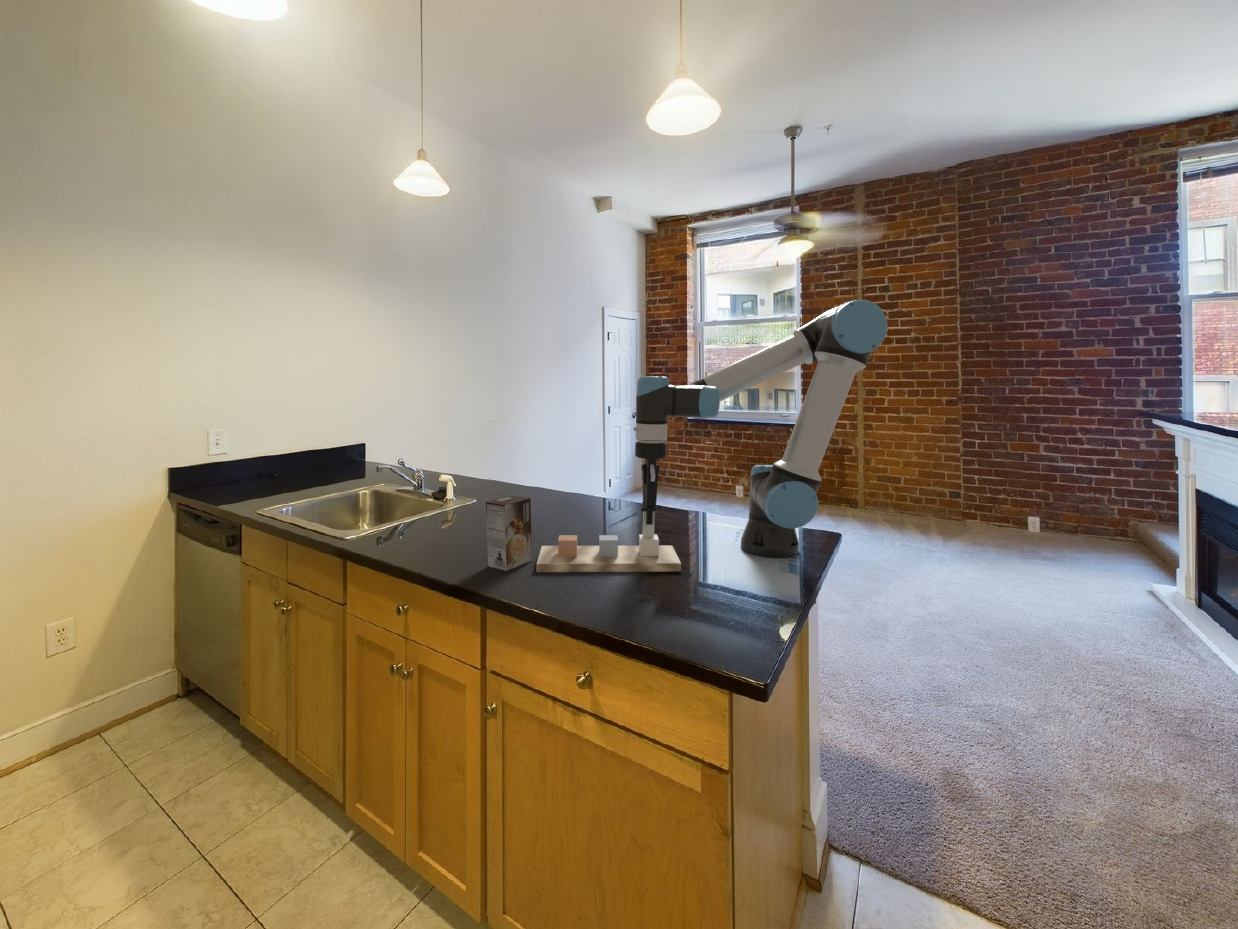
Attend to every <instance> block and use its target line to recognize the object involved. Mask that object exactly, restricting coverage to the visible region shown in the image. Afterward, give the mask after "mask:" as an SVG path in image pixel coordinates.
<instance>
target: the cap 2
mask: <svg viewBox="0 0 1238 929" xmlns="http://www.w3.org/2000/svg"><path fill="white" fill-rule="evenodd" d="M638 546H639V553H640V556H659V546H660V539H659V536H658V534H655V533H654V537H643V533H642V534H640V533H639V534H638Z"/></svg>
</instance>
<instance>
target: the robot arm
mask: <svg viewBox="0 0 1238 929" xmlns="http://www.w3.org/2000/svg"><path fill="white" fill-rule="evenodd" d="M884 312H885V311H883V309H882V308H881V306H879V305H878V304H876V303H875V302H872V301H871V300H867V299H855V300H848V301H845V302H843V303H841V304H840V305H839V306H836V307H832V308H830V309H828V310H826V311H825V312H823V313H821V314H820V315H819V316H817V317H816V318H813V320H811V321H809V322H807V323H806V324H804V325H802V326H801V327H798V328H796V329H794V331H793V332H792V335H791V336H789V337H786V338H784V339H783V340H780V341H778V342H776V343H774V344H771V345H770V346H768V347H765V348H763V349H760V350H759V351H757V352H755V353H752V354H751V355H749V356H746V357H744V358H742V359H740V360H738V361H736V362H734V363H731V364H729V365H727V366H725V367H723V368H721V369H719V370H716V371H715V372H713V373H710V374H708V375H706V376H704V377H702V378H700V379H698V380H696V381H694V382H691V383H689V384H685V385H673V384H670V381H669V380H670V379H669V377H667V376H653V375H651V376H645V375H644V376H641V377H639V379H638V380H637V384H636V386H637V387H636V399H635V403H636V405H635V406H636V408H635V410H636V411H635V425H636V426H634V427H633V430H632V431H634V432H635V439H636V440H637V441H636V442H635V443H634V444H635V446H634V447H635V449H634V456H635V457H636V458H638V459H643V460H644V463H641V471H642V479H641V480H642V502H641V504H642V508H641V509H640V511H641V512H642V534H643V537H654V534H655V522H656V521H655V518H656V511H657V508H658V507H657V499H658V498H657V497H658V484H659V483H658V482H659V476H660V475H659V473H660V466H659V465H658V464H657V463H658V462H657V460H658V459H661V460H662V459H665V458H666V457H667V445H668V444H667V443H666V442H665V441H666V440H667V439H668V417H669V418H675V417H676V418H698V419H699V418H701V419H707V418H708V419H709V418H716V417H717V416H718V414H719V410H720V403H721V402H722V401H725V400H727V399H729V398H731V397H734V396H735V395H738V394H740V393H742V392H743V391H747V390H749V389H751V388H753V387H755V386H757V385H759V384H761V383H763V382H766V381H769V380H770V379H772V378H774V377H776V376H779V375H781V374H782V373H785V372H787V371H791V370H792V369H794V368H796V367H799V366H800V365H803V364H806V365H812V364H814V363H816V362H817V365H816V367H815V370H814V373H813V375H812V379H811V381H810V384H809V386H808V389H807V391H806V394H805V397H804V400H803V402H802V404H801V408H800V409H799V413H798V416H797V418H796V421H795V424H794V426H793V429H792V432H791V434H790V438H789V440H788V442H787V445H786V448H785V450H784V453H783V456H782V458H781V459H778V460H777V461H775V462H773V464H763V465H762V464H755V465H754V466H752V467H751V472H750V473H751V474H750V477H749V478H750V486H749V487H750V489H749V505H748V506H749V508H748V510H749V511H748V512H749V513H748V520H747V523H746V524H745V525H746V526H745V528H744V531H743V532H742V536H741V539H740V548H741V549H742V550H743V551H745V552H747V553H750V554H752V555H755V556H759V557H760V556H761V557H768V558H789V557H793V556H796V555H797V553H798V554H799V553H800V552H799V551H800V543H799V538H798V535H797V532H796V529H798V528H802V527H804V526H806V525H808V524H809V523H810V522H811V521H813V519H814V518H815V517H816V515H817V512H818V508H819V498H818V495H817V493H818V491H819V488H820V485H821V484H822V477H821V475H820V473H819V469H820V466H821V463H822V462H823V459H824V456H825V454H826V451H827V449H828V446H829V443H830V440H831V438H832V435H833V433H834V431H835V428H836V425H837V422H838V421H839V417H840V415H841V412H842V409H843V407H844V404H845V402H846V399H847V396H848V395H849V391H850V389H851V386H852V383H853V381H854V378H855V376H856V374H857V373H858V372H860V371H862V370H863V369H865V368H867V364H868V362H869V359H870V357H871V355H872V352H873V351H875V350H876V349H877V348H878V347H879V346H880V345H881V344H882V343H883V342H884V341H885V338H886V336H887V333H888V319H887V316H886V315H885V313H884Z"/></svg>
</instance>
